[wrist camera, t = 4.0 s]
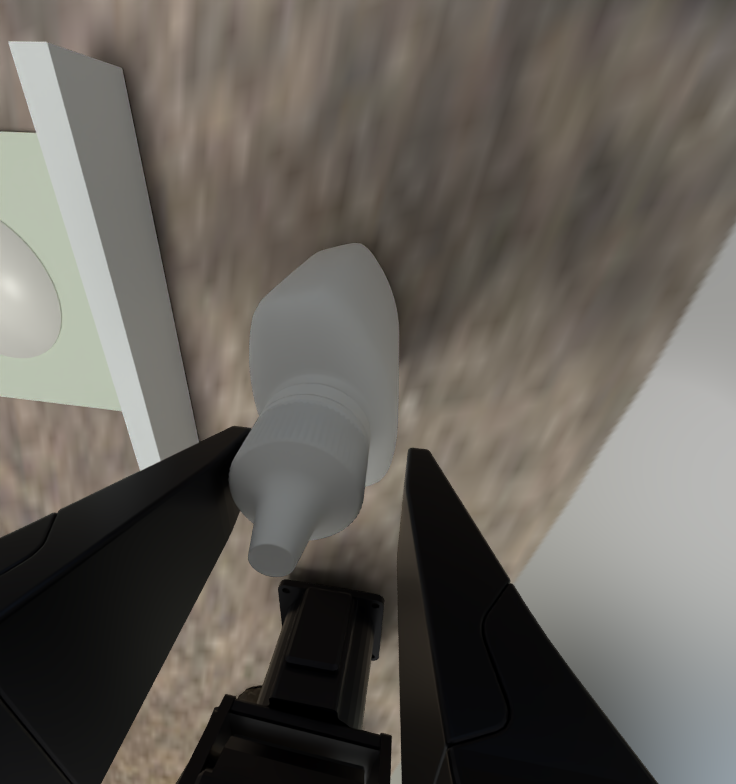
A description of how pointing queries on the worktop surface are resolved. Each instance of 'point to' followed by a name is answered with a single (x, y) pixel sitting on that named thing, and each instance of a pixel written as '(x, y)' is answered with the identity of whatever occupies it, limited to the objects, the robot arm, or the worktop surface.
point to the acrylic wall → (111, 237)
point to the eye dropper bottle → (317, 404)
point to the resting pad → (43, 292)
